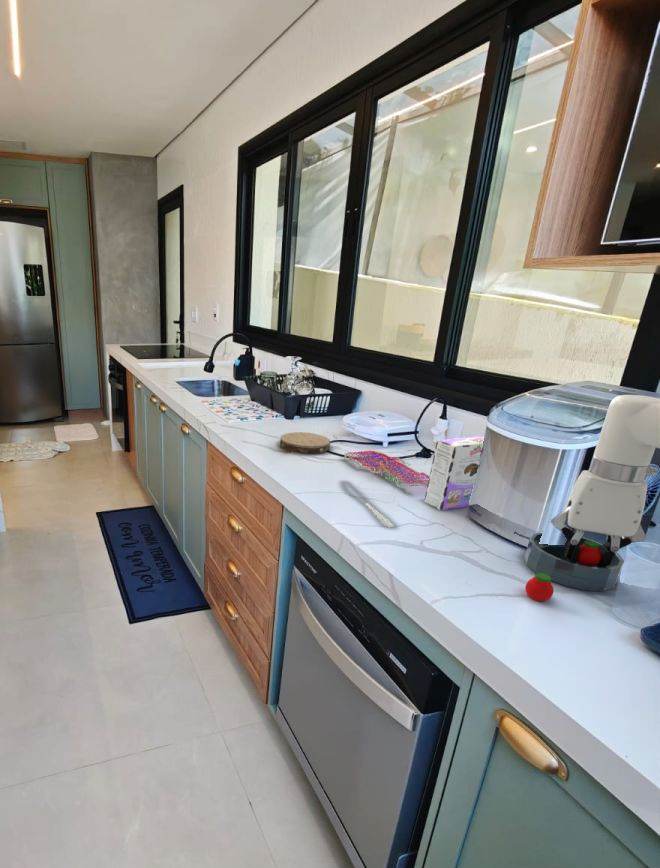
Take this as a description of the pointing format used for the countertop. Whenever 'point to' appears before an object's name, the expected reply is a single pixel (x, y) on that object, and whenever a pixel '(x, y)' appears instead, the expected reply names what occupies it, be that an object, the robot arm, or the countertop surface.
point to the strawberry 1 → (540, 587)
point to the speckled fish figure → (393, 467)
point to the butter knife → (380, 516)
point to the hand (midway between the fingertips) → (585, 563)
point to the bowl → (571, 566)
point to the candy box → (453, 472)
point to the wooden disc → (304, 443)
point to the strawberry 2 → (589, 554)
